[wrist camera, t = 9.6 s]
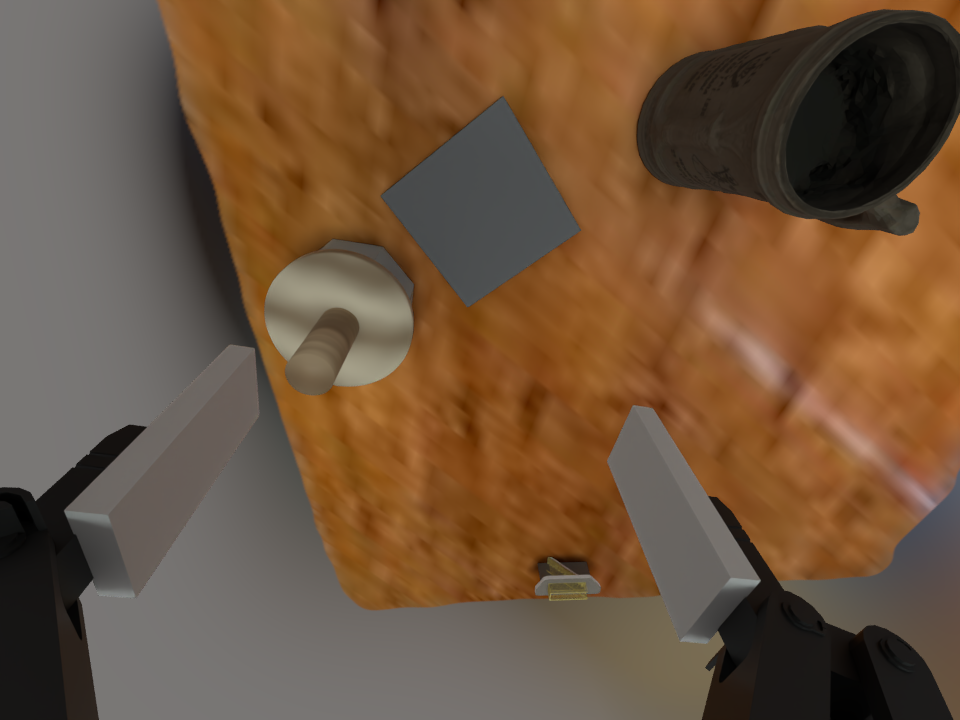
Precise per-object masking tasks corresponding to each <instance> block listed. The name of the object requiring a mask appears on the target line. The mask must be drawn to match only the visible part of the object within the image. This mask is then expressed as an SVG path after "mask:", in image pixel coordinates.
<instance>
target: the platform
mask: <svg viewBox="0 0 960 720" xmlns="http://www.w3.org/2000/svg"><path fill="white" fill-rule="evenodd" d="M538 569H539V575H540V582H539V583H538V584H537V585H536V586H535V594H536V595H549V600H550V597H551V595H553V597H552V598H551V600H552V599H553V598H554V596H555V595H558V596H557V597H556V599H555V600H579V599H580V598H581V597H582V596H583V598H582V600H583V599H584V598H586V599H587V595H585V596H584V595H583V594H597V593H599V592H600V589H601V587H600V584H599V583H598V582H597V581H596V580H595V579H594V578H593V577H592V576H590V573H589V570H588V566H587V563H586V562H563V563H560V562H558V561H557V560H555V559H554V558H552V557H548V560H547V563H538ZM567 594H568V595H567ZM570 594H572V595H571V597H570V598H569V599H562V598H563V596H564V595H567V596H566V597H565V598H567V597H568V596H569V595H570ZM574 594H577V595H576V596H575V597H574V598H573V599H571V598H572V596H573V595H574ZM579 594H581V595H580V597H579V598H578V599H575V598H576V597H577V596H578V595H579ZM560 595H562V597H561V598H560V599H557V598H558V597H559V596H560ZM551 600H550V601H551ZM580 600H581V599H580Z"/></svg>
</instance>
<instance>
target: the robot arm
mask: <svg viewBox="0 0 960 720" xmlns="http://www.w3.org/2000/svg"><path fill="white" fill-rule="evenodd" d="M258 416H259V403H258V389H257V375H256V360H255V348H249V347H243V346H236V345H229V346H228V347H227V348H226V349H225V350H224V351H223V352H222V353H221V354H220V355H219V356H218V357H217V358H216V359H215V360H214V361H213V362H212V363H211V364H210V365H209V366H208V367H207V368H206V369H205V370H204V371H203V372H202V373H201V374H200V375H199V376H198V377H197V378H196V379H195V380H194V381H193V382H192V383H191V384H190V385H189V386H188V387H187V388H186V389H185V390H184V391H183V392H182V393H181V394H180V395H179V396H178V397H177V398H176V399H175V400H174V401H173V402H172V403H171V404H170V405H169V406H168V407H167V408H166V409H165V410H164V411H163V412H162V413H161V414H160V415H159V416H158V417H157V418H156V419H155V420H154V421H153V422H152V423H151V424H150V425H149V426H148V427H144V426H136V425H128V426H126V427H124V428H122V429H120V430H118V431H116V432H114V433H112V434H110V435H108V436H107V437H105V438H104V439H103V440H102V441H101V442H100V443H99V444H98V445H97V446H96V447H94V448H93V449H92V450H91V451H90V454H89V455H86V456H85V457H84V458H82V459H81V460H80V461H79V462H78V463H77V464H76V467H75V468H71V469H70V470H69V471H68V472H67V473H66V474H65V475H64V476H63V477H62V478H61V479H60V480H58V481H57V482H56V483H55V484H54V485H53V486H52V487H51V488H50V489H48V490H47V491H46V492H45V493H44V494H43V495H42V496H41V497H40V498H39V499H37V501H35V500H34V498H33V496H32V494H31V493H30V492H29V491H26V490H24V489H21V488H7V487H2V488H0V720H99V718H98V711H97V704H96V697H95V691H94V685H93V677H92V670H91V664H90V657H89V650H88V643H87V637H86V630H85V623H84V617H83V610H82V604H81V602H80V600H79V596H80V595H81V593H82V592H83V591H84V590H85V588H86V587H87V586H88V585H89V583H90V582H91V581H92V580H93V583H94V585H95V587H96V590H97V592H98V595H101V596H113V597H126V598H137V596H138V595H139V593H140V592H141V590H142V589H143V587H144V586H145V584H146V583H147V581H148V580H149V579H150V577H151V576H152V574H153V572H154V571H155V570H156V568H157V567H158V565H159V564H160V562H161V561H162V559H163V558H164V556H165V555H166V553H167V552H168V550H169V549H170V547H171V546H172V544H173V543H174V541H175V540H176V538H177V537H178V535H179V534H180V532H181V531H182V529H183V528H184V526H185V525H186V523H187V522H188V521H189V519H190V518H191V516H192V515H193V513H194V511H195V510H196V509H197V507H198V505H199V504H200V503H201V501H202V500H203V498H204V497H205V495H206V493H207V492H208V491H209V489H210V488H211V486H212V485H213V483H214V482H215V480H216V479H217V477H218V476H219V474H220V473H221V471H222V470H223V468H224V467H225V465H226V464H227V463H228V461H229V459H230V458H231V456H232V455H233V453H234V452H235V451H236V449H237V448H238V446H239V445H240V443H241V442H242V440H243V439H244V437H245V436H246V434H247V433H248V431H249V430H250V428H251V427H252V425H253V424H254V422H255V421H256V419H257V418H258ZM607 462H608V464H609V467H610V469H611V472H612V474H613V477H614V479H615V482H616V484H617V487H618V489H619V492H620V494H621V497H622V499H623V502H624V504H625V507H626V509H627V511H628V514H629V516H630V519H631V521H632V524H633V526H634V529H635V531H636V534H637V536H638V539H639V541H640V544H641V546H642V549H643V551H644V554H645V556H646V559H647V561H648V564H649V566H650V568H651V571H652V573H653V576H654V578H655V581H656V583H657V586H658V588H659V591H660V593H661V596H662V598H663V600H664V603H665V606H666V608H667V611H668V613H669V616H670V618H671V621H672V623H673V625H674V628H675V630H676V633H677V635H678V637H679V640H680V641H681V642H694V643H708V642H709V640H710V639H711V638H712V637H713V636H714V635H715V633H716V632H717V631H719V633H720V636H721V637H722V640H723V642H724V644H725V645H724V646H723V647H722V648H721V649H720V650H719V651H718V653H717V654H716V655H715V656H714V657H713V658H712V659H711V660H710V661H709V663H708V664H707V666H706V667H705V668H706V669H707V670H709V671H710V670H711V669H712V668H713V667H714V666H715V665H716V666H715V670H714V674H713V678H712V682H711V686H710V690H709V693H708V698H707V701H706V705H705V709H704V713H703V717H702V720H953V718H952V716H951V713H950V711H949V709H948V707H947V705H946V703H945V700H944V698H943V697H942V694H941V692H940V690H939V688H938V685H937V683H936V681H935V679H934V677H933V675H932V673H931V671H930V669H929V668H928V666H927V664H926V663H925V661H924V660H923V659H922V657H921V656H920V655H919V654H918V653H917V652H916V651H915V650H914V649H913V648H912V647H911V646H910V645H909V644H908V643H907V642H905V641H904V640H903V639H901V638H900V637H899V636H897V635H895V634H894V633H892V632H890V631H889V630H887V629H885V628H881V627H878V626H876V625H873V626H866V627H865V628H864V629H863V630H862V631H860V632H859V633H858V634H857V635H855V634H853V633H850V632H848V631H845V630H842V629H840V628H838V627H835V626H833V625H830V624H828V623H825V621H824V619H823V618H822V616H821V615H820V614H819V613H818V612H817V611H816V610H815V609H814V607H813V606H811V605H810V604H809V603H807V602H806V601H805V600H803V599H802V598H801V597H799V596H797V595H795V594H793V593H791V592H788V591H784V589H783V588H782V587H781V585H780V584H779V582H778V581H777V579H776V578H775V576H774V575H773V573H772V571H771V570H770V568H769V567H768V565H767V564H766V562H765V561H764V559H763V558H762V556H761V555H760V553H759V552H758V550H757V549H756V547H755V546H754V544H753V543H751V542H750V538H749V537H748V535H747V534H746V532H745V531H744V530H742V526H741V525H740V523H739V522H738V520H737V519H736V517H735V516H734V514H733V513H732V511H731V510H730V509H729V508H728V507H726V506H725V505H724V504H723V503H722V502H721V501H720V500H719V499H718V498H717V497H711V496H707V494H706V492H705V491H704V489H703V488H702V486H701V484H700V483H699V481H698V480H697V478H696V476H695V475H694V473H693V472H692V470H691V468H690V467H689V465H688V464H687V462H686V461H685V459H684V457H683V456H682V454H681V453H680V451H679V449H678V448H677V446H676V445H675V443H674V441H673V440H672V438H671V437H670V435H669V433H668V432H667V430H666V429H665V427H664V425H663V424H662V422H661V421H660V419H659V417H658V416H657V414H656V413H655V411H654V409H653V408H647V407H641V406H634V405H633V407H632V409H631V411H630V413H629V415H628V417H627V420H626V422H625V424H624V426H623V428H622V430H621V433H620V435H619V437H618V439H617V441H616V443H615V446H614V448H613V450H612V452H611V454H610V456H609V458H608V461H607Z"/></svg>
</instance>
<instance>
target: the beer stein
mask: <svg viewBox="0 0 960 720" xmlns="http://www.w3.org/2000/svg"><path fill="white" fill-rule="evenodd" d="M959 113H960V34H959V33H958V32H957V31H956V30H955V29H954V28H953V27H952V26H951V25H950V23H949V22H948V21H947V20H946V19H944V18H941V17H939V16H937V15H934V14H932V13H930V12H923V11H916V10H885V9H883V10H877V11H872V12H867V13H864V14H861V15H858V16H855V17H851V18H849V19H846V20H844V21H842V22H840V23H837V24H834V25H832V26H829V27H826V26H820V25H818V26H813V27H807V28H802V29H797V30H793V31H789V32H786V33H784V34H779V35H774V36H770V37H767V38H763V39H759V40H753V41H748V42H746V43H741V44H735V45H732V46H729V47H726V48H722V49H718V50H713V51H705V52H700V53H697V54H694V55H691V56H689V57H686V58H684V59H682V60H681V61H679V62H678V63H676V64H675V65H673V66H672V67H671V68H669V69H668V70H667V71H666V72H665V73H664V74H663V75H662V76H661V77H660V78H659V79H658V80H657V82H656V83H655V85H654V86H653V88H652V89H651V91H650V92H649V94H648V96H647V98H646V100H645V102H644V104H643V108H642V111H641V115H640V118H639V121H638V133H637V143H638V148H639V153H640V156H641V159H642V161H643V163H644V165H645V166H646V168H647V169H648V170H649V171H650V172H651V174H652V175H653V176H655V177H656V178H657V179H659V180H660V181H662V182H664V183H666V184H669V185H673V186H679V187H686V188H690V189H706V190H712V191H721V192H723V193H729V194H738V195H743V196H747V197H751V198H754V199H757V200H761V201H766V202H769V203H770V204H771V205H773V206H774V207H776V208H777V209H779V210H780V211H782V212H783V213H786V214H789V215H792V216H795V217H800V218H805V219H818V220H820V221H823V222H825V223H828V224H831V225H834V226H837V227H841V228H847V229H856V230H881V231H884V232H888V233H892V234H895V235H899V236H902V235H907V234H910V233H913V232H914V230H915V229H916V227H917V225H918V223H919V215H920V212H919V210H918V207H917V205H916V204H914V203H911V202H908V201H906V200H903V199H900V198H898V196H897V195H896V194H897V193H899V192H900V191H902V190H903V189H905V188H906V187H907V186H908V185H909V184H910V183H911V182H912V181H913V180H914V179H915V178H916V177H917V176H918V175H920V174H921V173H922V172H923V171H924V170H925V169H926V167H927V166H928V165H929V164H930V162H931V161H932V160H933V159H934V157H935V156H936V155H937V154H938V152H939V151H940V149H941V148H942V146H943V145H944V143H945V142H946V140H947V138H948V137H949V135H950V133H951V131H952V128H953V126H954V124H955V122H956V120H957V118H958V116H959Z"/></svg>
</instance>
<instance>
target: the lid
mask: <svg viewBox="0 0 960 720" xmlns="http://www.w3.org/2000/svg"><path fill="white" fill-rule="evenodd" d="M265 321H266V326H267V329H268V333H269V335H270V337H271V339H272V342H273V343H274V345H275V347H276V348H277V350H278V351H279V352H280V353H281V355H282V356H283V357H284V358H285V359H286V360H287V361H288V363H287V365H286V368H285V375H286V378H287V380H288V382H289V383H290V385H291V386H292V387H293V388H294V389H296V390H297V391H299V392H301V393H304V394H307V395H320V394H323V393H325V392H327V391H328V390H330V388H331V387H332V386H333V385H337V386H360V385H366V384H370V383H373V382H376V381H378V380H380V379H382V378H384V377H386V376H387V375H389V374H390V373H391V372H393V371H394V370H395V369H396V368H397V367H398V366H399V365H400V364H401V362H402V361H403V360H404V358H405V356H406V354H407V352H408V350H409V347H410V344H411V340H412V336H413V330H414V315H413V309H412V305H411V302H410V299H409V297H408V295H407V293H406V291H405V289H404V287H403V286H402V285H401V283H400V282H399V281H398V279H397V278H396V277H395V276H394V275H393V274H392V273H391V272H390V271H389V270H388V269H386V268H385V267H384V266H383V265H381V264H380V263H378V262H377V261H375V260H373V259H371V258H369V257H367V256H365V255H362V254H359V253H357V252H353V251H348V250H341V249H324V250H318V251H314V252H311V253H308V254H305V255H303V256H301V257H299V258H297V259H296V260H295V261H293V262H292V263H290V264H289V265H288V266H287V267H286V268H284V269H283V270H282V271H281V272H280V273H279V274H278V275H277V277H276V278H275V279H274V281H273V282H272V284H271V286H270V288H269V290H268V293H267V296H266V301H265Z"/></svg>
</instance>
